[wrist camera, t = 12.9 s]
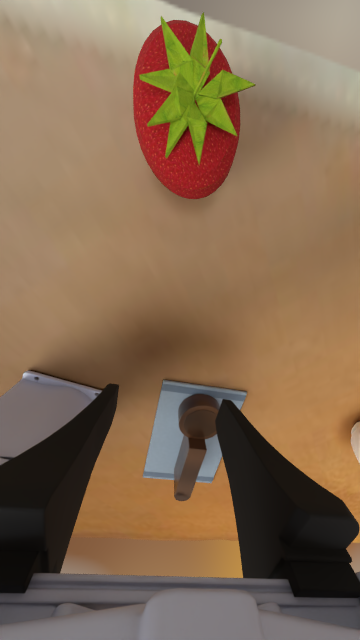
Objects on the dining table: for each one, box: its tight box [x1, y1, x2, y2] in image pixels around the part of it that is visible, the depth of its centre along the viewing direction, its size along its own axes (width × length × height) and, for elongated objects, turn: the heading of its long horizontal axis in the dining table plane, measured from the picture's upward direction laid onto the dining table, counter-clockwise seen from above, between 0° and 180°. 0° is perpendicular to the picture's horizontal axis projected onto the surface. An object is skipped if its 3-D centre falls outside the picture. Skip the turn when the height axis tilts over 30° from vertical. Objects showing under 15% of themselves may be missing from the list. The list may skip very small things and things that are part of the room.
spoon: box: [174, 394, 220, 501], centre depth 25 cm, size 15×6×3 cm, turn 168°
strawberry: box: [133, 13, 256, 199], centre depth 11 cm, size 6×8×10 cm
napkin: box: [143, 380, 247, 483], centre depth 26 cm, size 11×18×1 cm, turn 168°
